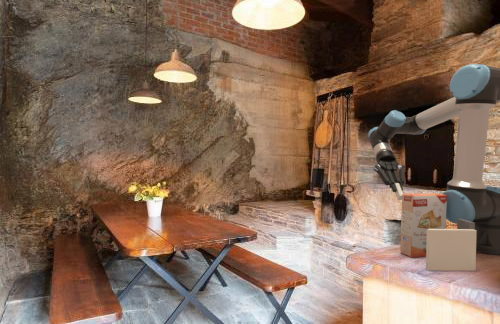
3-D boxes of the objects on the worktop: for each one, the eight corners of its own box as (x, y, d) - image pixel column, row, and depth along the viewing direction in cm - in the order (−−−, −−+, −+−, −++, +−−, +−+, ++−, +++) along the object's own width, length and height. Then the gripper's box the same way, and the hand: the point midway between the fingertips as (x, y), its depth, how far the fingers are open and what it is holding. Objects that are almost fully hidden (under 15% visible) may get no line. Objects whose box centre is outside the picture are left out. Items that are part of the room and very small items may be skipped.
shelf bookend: (461, 262, 108) (462, 218, 108) (477, 270, 100) (478, 223, 100) (415, 262, 108) (416, 218, 107) (428, 270, 100) (429, 223, 100)
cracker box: (412, 258, 112) (413, 195, 112) (399, 253, 118) (400, 193, 117) (446, 255, 116) (447, 194, 115) (432, 250, 122) (433, 192, 121)
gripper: (396, 161, 152) (413, 203, 136) (367, 161, 152) (381, 203, 136) (401, 149, 147) (420, 192, 131) (372, 149, 147) (387, 191, 131)
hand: (400, 197), depth 133 cm, fingers closed
